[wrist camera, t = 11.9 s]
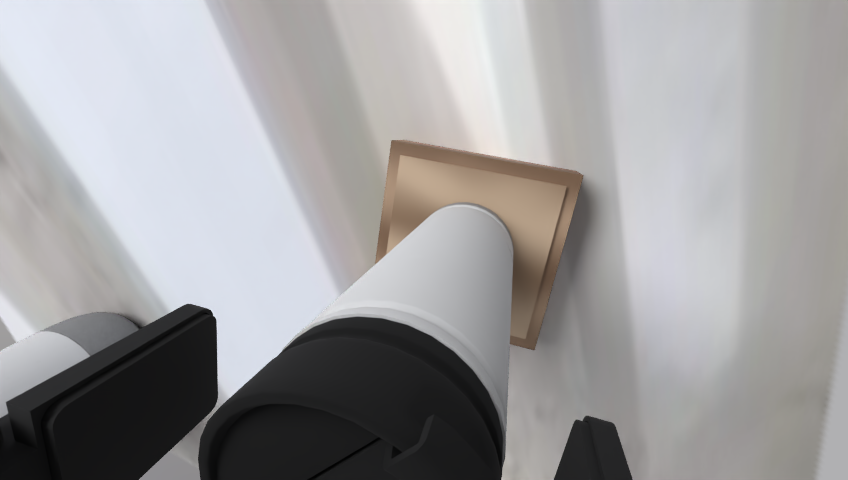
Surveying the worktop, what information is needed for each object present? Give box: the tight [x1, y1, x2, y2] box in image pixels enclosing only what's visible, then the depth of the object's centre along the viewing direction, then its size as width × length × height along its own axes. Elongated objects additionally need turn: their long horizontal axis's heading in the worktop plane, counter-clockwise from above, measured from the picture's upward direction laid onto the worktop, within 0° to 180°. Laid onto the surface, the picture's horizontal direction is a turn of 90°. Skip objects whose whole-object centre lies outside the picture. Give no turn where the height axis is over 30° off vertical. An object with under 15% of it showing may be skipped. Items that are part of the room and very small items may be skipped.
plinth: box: [375, 140, 583, 350], centre depth 27 cm, size 12×12×3 cm
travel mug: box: [198, 202, 513, 480], centre depth 16 cm, size 6×7×20 cm
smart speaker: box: [0, 312, 140, 418], centre depth 33 cm, size 10×9×14 cm
